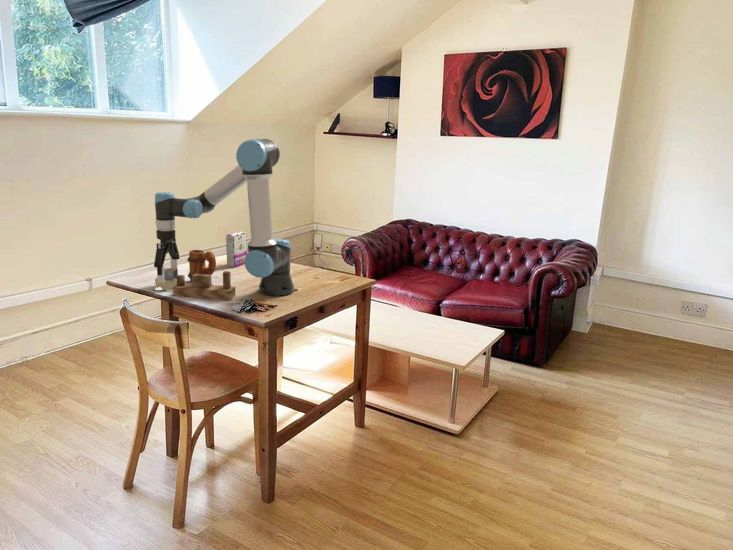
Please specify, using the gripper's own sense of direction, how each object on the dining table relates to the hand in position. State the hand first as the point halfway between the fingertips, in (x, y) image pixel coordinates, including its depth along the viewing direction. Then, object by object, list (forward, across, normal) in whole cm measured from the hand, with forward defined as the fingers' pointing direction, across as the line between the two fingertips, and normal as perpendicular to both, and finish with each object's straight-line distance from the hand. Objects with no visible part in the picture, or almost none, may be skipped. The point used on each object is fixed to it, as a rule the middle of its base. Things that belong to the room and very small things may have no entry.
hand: (167, 278), depth 244 cm
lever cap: (0, 0, 0) cm, 0 cm away
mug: (+4, -11, +11) cm, 16 cm away
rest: (+4, 0, 0) cm, 4 cm away
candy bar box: (+4, -46, +16) cm, 49 cm away
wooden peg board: (+4, +8, +19) cm, 21 cm away
